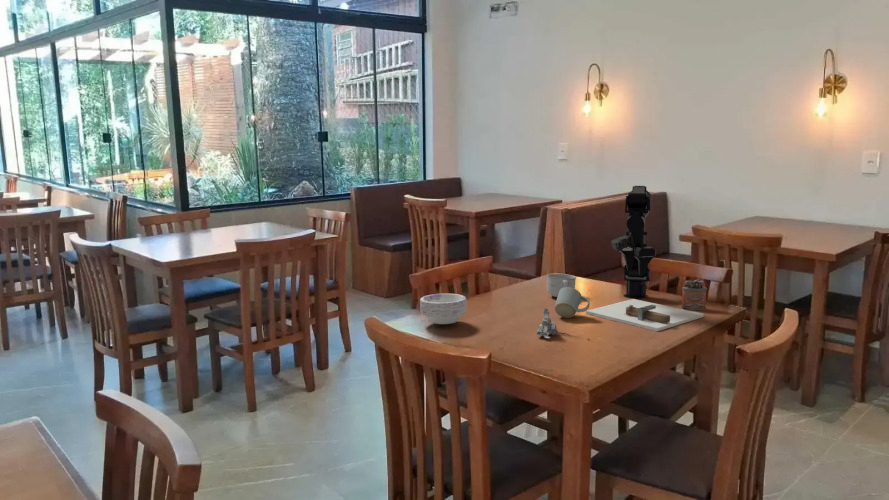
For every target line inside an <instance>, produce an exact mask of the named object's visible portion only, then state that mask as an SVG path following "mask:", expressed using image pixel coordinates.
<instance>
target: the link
mask: <svg viewBox="0 0 889 500" xmlns="http://www.w3.org/2000/svg"><path fill="white" fill-rule="evenodd" d="M626 314H628V315H634V316H638V308H635V307H633V305H629V307H626ZM645 318H646V319H650V320H655V321H659V322H663V323H667V322H670V315H665V314H661V313H657V312H652V311H645Z"/></svg>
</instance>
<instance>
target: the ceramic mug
mask: <svg viewBox="0 0 889 500" xmlns="http://www.w3.org/2000/svg"><path fill="white" fill-rule="evenodd" d="M581 301H585V302H587V305H586V306H585V307H583V308H580V307H579V306H580V304H581ZM590 305H591V303H590V300H589V299H588V298H587V297H586V296H582V294H581V292H580V291H579V290H578V289H576V288H575V289H574V288H571V287H564V288H562V289H560V291H559V294H558V297H556V301H555V304H554V310H555V313H556V315H558V316H559V317H561V318H565V319H570V318H572V317H574V316H575V315H576V313H584V312H586V311H588V310H589V309H590Z"/></svg>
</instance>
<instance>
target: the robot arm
mask: <svg viewBox="0 0 889 500" xmlns="http://www.w3.org/2000/svg"><path fill="white" fill-rule="evenodd" d="M624 204H625V207H624V214H628V216H627V220H626V228H627V230H625V231H624V235H622V236H619V237H616V238H615V239H612V240H611V243H610V244H611V246H612V248H613V250H614V251H616V252H620V253H621V254H622V255H623V258H624V262H625V264H624V270H623V271H624V272H623V274H624V275H623V277H624V278H623V279H624V282H625V281H626V289H625V294H623V296H624V297H627V298H630V299H636V300H640V299H642V298H646V297H648V294H647V284H646V283H648V282H650V281H651V280H650V279H651V269H650V268H649V264H650V263H651V261H652V260H653V259H654V257H656V256H657V249H655V248H654V247H653V246H648V245H647V243H645V240H646V239H645V238H646V237H645V236H647V235H648V231H646V218H647V217H648V216H649V213H650V212H651V208H652V193H650V192H649V191H648V190H647V186H645V185H634V186H633V185H632V190H631V191H630V192H628V193H627V195H626V196H625V203H624Z"/></svg>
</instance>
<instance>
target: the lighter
mask: <svg viewBox="0 0 889 500" xmlns="http://www.w3.org/2000/svg"><path fill="white" fill-rule="evenodd" d="M704 284H705V283H704V281H702V280H701V281H700V280H699V281H698V280H696V279H695V280H693V281H692V280H685V281H684V285H686V286H682V299H681V300H682V302H681V309H683V310H688V311H705V310H706V309H707V306H706V304H707V303H706V301H707V290H708V288H707V287H706V286H704ZM704 309H705V310H704Z"/></svg>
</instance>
